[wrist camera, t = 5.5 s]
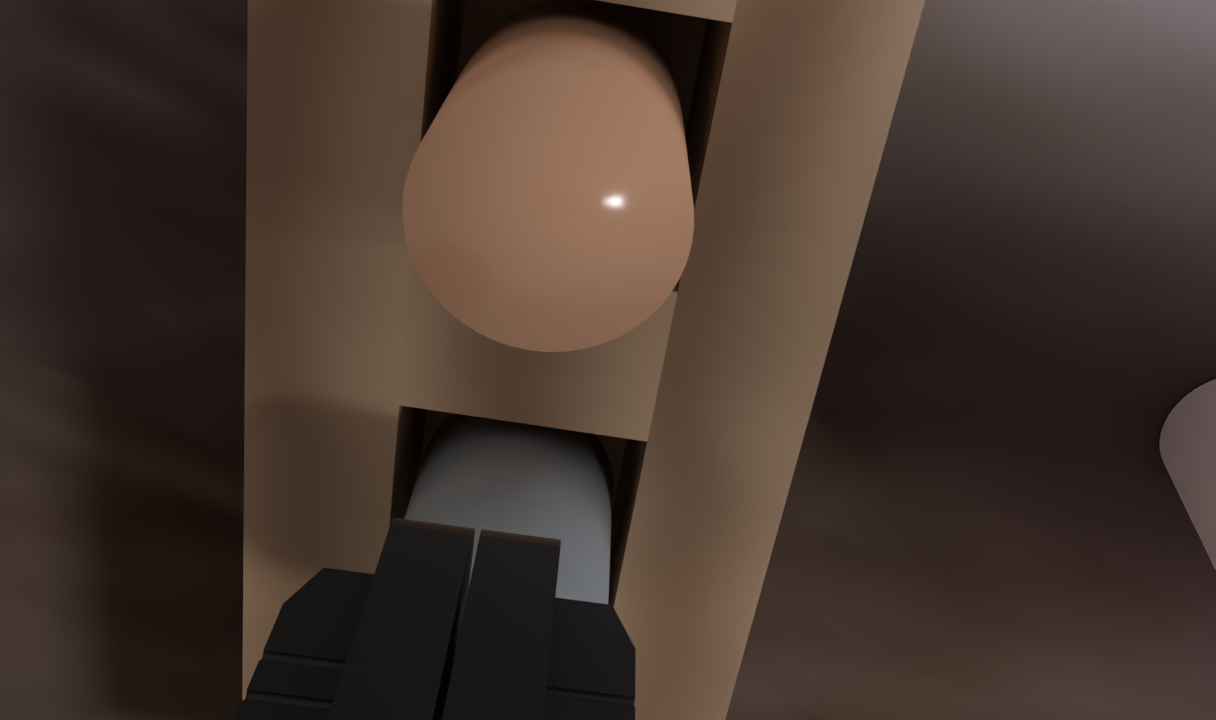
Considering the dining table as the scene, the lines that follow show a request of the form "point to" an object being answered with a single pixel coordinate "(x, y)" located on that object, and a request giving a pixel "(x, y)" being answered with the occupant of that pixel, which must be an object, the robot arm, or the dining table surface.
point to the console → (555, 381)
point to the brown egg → (554, 182)
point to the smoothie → (1194, 459)
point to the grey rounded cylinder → (523, 492)
